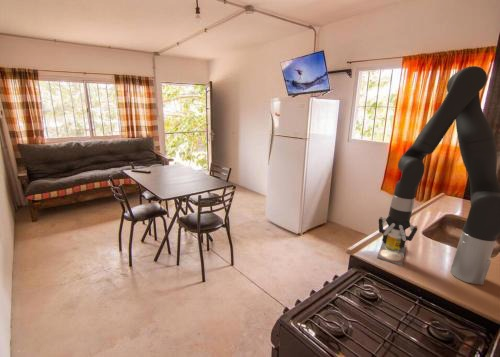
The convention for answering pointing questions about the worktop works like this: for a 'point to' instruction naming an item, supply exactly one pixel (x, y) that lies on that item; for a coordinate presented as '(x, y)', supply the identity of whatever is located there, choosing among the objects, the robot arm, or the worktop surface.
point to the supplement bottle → (393, 240)
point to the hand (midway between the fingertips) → (392, 245)
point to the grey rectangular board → (391, 255)
